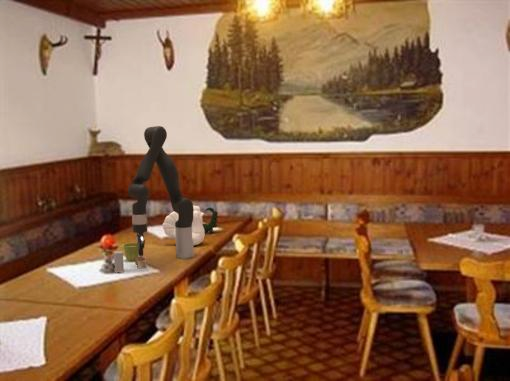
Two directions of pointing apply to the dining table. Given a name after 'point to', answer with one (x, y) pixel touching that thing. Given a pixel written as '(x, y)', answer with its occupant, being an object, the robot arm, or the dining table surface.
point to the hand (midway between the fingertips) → (141, 255)
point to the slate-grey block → (118, 261)
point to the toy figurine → (213, 222)
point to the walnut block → (140, 262)
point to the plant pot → (131, 251)
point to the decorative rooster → (196, 225)
